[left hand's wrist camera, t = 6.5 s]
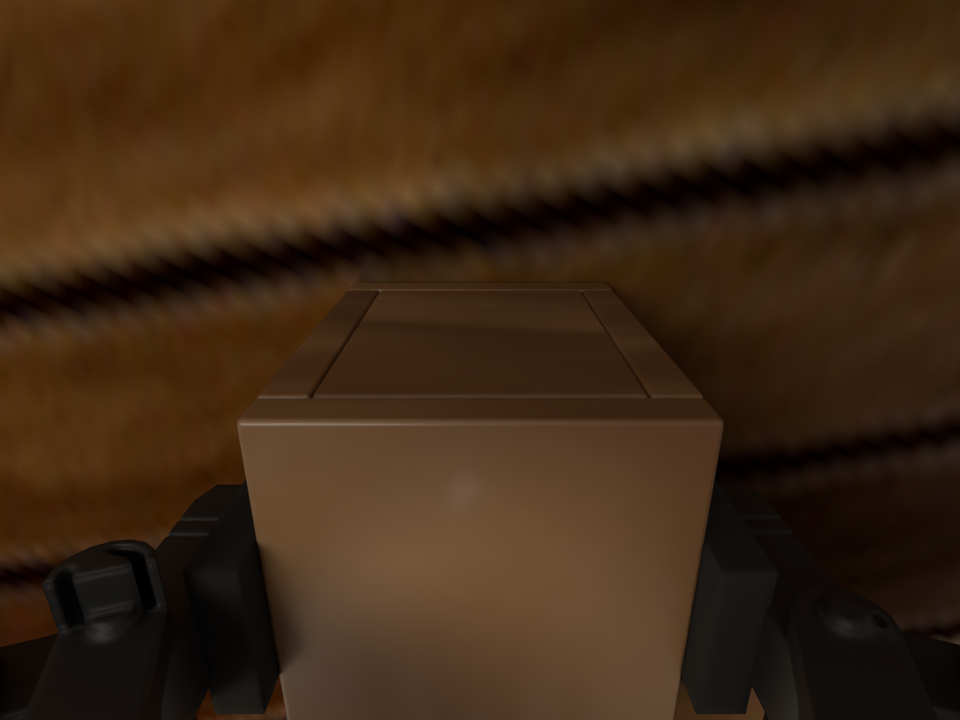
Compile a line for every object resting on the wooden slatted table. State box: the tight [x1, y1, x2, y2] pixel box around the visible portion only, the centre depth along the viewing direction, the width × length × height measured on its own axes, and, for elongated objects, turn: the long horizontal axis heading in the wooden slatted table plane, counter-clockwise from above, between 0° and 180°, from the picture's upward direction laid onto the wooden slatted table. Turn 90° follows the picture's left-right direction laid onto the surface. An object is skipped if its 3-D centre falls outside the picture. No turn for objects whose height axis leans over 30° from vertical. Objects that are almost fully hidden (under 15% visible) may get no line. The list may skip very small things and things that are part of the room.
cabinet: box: [237, 282, 724, 720], centre depth 14 cm, size 16×7×8 cm, turn 0°
